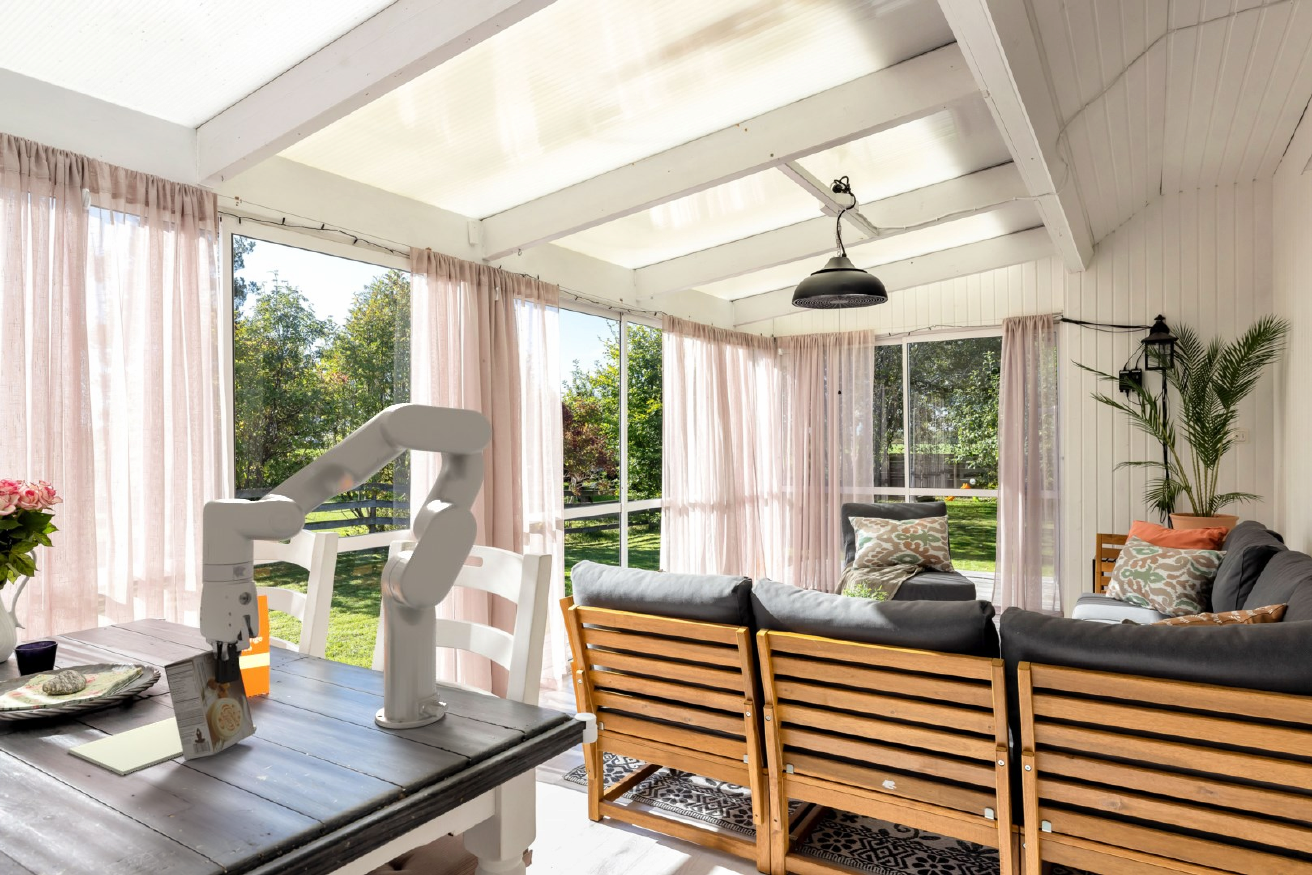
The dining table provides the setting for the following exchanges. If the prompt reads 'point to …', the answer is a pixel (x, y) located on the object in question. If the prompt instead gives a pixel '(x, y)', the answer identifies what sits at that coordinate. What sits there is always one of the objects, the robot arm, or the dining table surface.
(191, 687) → the coffee box
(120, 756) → the mat
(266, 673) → the orange juice
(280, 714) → the dining table surface
